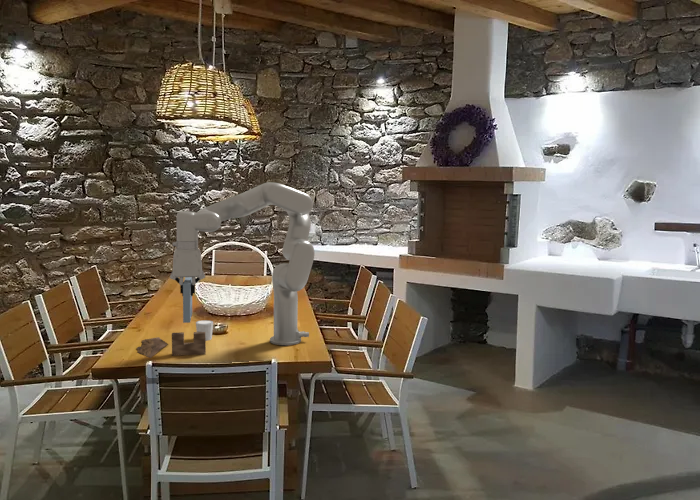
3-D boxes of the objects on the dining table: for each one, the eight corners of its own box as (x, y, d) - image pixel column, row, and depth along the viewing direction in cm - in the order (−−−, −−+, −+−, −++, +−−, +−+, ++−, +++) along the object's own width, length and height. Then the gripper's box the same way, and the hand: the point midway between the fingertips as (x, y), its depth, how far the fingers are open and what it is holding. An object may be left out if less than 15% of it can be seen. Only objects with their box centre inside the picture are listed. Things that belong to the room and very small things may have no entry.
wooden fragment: (143, 339, 248) (143, 336, 247) (171, 338, 249) (171, 336, 249) (131, 359, 222) (130, 356, 222) (162, 358, 224) (162, 355, 224)
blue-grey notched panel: (190, 322, 220) (189, 284, 218) (183, 322, 219) (182, 284, 218) (192, 313, 234) (192, 277, 232) (185, 313, 233) (185, 277, 231)
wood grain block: (205, 352, 231) (205, 331, 230) (205, 354, 228) (205, 333, 227) (172, 353, 228) (172, 332, 227) (172, 355, 226) (171, 334, 225)
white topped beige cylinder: (196, 341, 245) (196, 324, 244) (195, 337, 251) (195, 320, 250) (213, 340, 247) (213, 323, 246) (212, 336, 253) (212, 319, 252)
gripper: (163, 246, 218) (163, 297, 220) (209, 246, 221) (209, 297, 223) (165, 244, 225) (165, 293, 228) (210, 244, 228) (210, 293, 231)
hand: (187, 294), depth 225 cm, fingers closed on blue-grey notched panel, 2 cm apart
